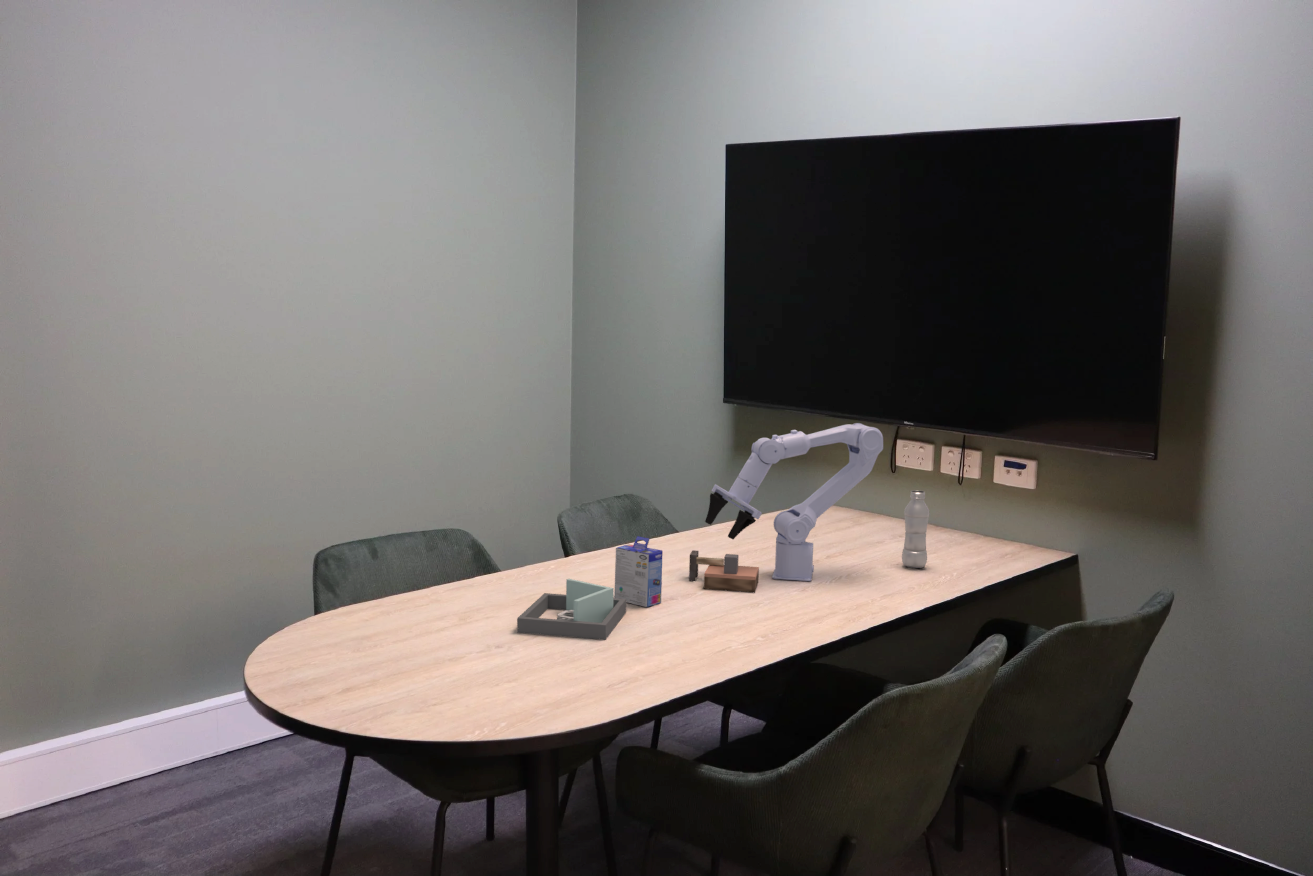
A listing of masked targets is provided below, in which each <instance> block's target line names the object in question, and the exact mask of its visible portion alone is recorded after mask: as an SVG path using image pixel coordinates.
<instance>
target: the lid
mask: <svg viewBox="0 0 1313 876" xmlns="http://www.w3.org/2000/svg"><path fill="white" fill-rule="evenodd" d="M723 559H724V565H723V566H718V565H707V568H706V570H705V572H704V573H703V575H704V577H717V578H731V579H746V580H756V577H757V574H758V571H759V572H760V567H759V566H749V565H748V566H745V565H739V554H736V553H735V554H732V553H731V554H730V553H726V554H725V555H724V557H723ZM704 577H703V578H704Z"/></svg>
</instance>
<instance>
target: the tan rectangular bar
mask: <svg viewBox="0 0 1313 876" xmlns="http://www.w3.org/2000/svg"><path fill="white" fill-rule="evenodd" d="M696 564H698V565H705V566H706V565H707V566H709V565H718V566H723V565H724V558H723V557H722V558H719V557H706V556H705V557H704V556H703V557H702V556H698V557H696Z"/></svg>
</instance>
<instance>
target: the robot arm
mask: <svg viewBox="0 0 1313 876" xmlns="http://www.w3.org/2000/svg"><path fill="white" fill-rule="evenodd" d="M838 443H843V444H846V445H847V446H846V447H847V448H848V453H849V454H848V455H849V456H848V457H849V459H848V463H847V464H846V465H845V466H843V467H842V468H841V469H840V470H839V471H838V472H836V473H835V474H834V475H833V476H832V477H830V478H829V479H828V480H827V481H826V482H825V483H824V484H822V485H821V486H820V487H819V488H817V490H815V491H814V492H813V493H812V494H811V495H810V496H809V497H807V498H806V499H805V500H803V502H801V503H799V504H798V503H797V504H795V505H793V506H791V507H790V508H789V509H787V510H783V511H781V512H779V513H778V514H777V515H776V516H775V518H774V520H773V528H774V531H775V532H776V533H777V535H776V537H775V559H774V560H775V563H774V570H773V573H772V577H771V578H772V579H775V580H785V581H786V580H787V581H804V582H812V578H813V573H814V571H815V566H814V565H813V564H814V542H809V541H806V539H807V538H808V537H809V535H810V533H811V531H812V529H814V528H815V527H816V524H817V520H818V518H819V517H821V516H822V515H823V514H824V513H825V512H827V511H828V510H829V509H830V508H831V507H833V506H834V505H835V504H836V503H837V502H838V501H839V500H840V499H842V498H843V497H844V496H845V495H846V494H848V493H849V492H850V491H851V490H852V489H853V488H855V487H856V486H857V485H858V484H859V483H860V482H862V480H863V479H865V478H866V477H867V476H868V475H870V473H871V472H872V471H873V468H874V466H875V463H876V460H877V459H878V456H879V455H880V453H881V452H882V451H883V450H884V436H883V433H882V432H881V431H880V429H879V428H877V427H874V426H868V425H865V424H863V423H860V422H855V423H853V424H847V423H846V424H842V425H839V426H834V427H831V428H828V429H824V430H820V431H815V432H813V433H808V434H806V433H804V432H803V431H801V430H799V431H798V430H796V429H792V430H790V433H786V434H782V435H778V434H772V436H771V438H768V437H761V438H758V439H757V440H756V441H755V442H753V443H752V445H751V454H750V456H749V457H748V459H747V460H746V462H745V463H744V465H743V466H742V468H741V470H740V472H739V474H738V475H737V477H736V479H735V480H734V482H733V484H732V485H731V487H730V489H729V490H726V489H724V488H722V487H721V486H719V485H718V484H717V483H715V484H714V485H713V487H712V489H711V492H710V494H709V506H708V511H707V514H706V518H705V520H704V522H705V523H706V524H708V525H711V526H712V524H713V522H714V521H715V520H716V518H717V517H718V515H719V514H720V512H721V511H722V510H723V508H725V506H726V505H728V503H730V504H732V505H734V506H736V507H737V508H739V511H738V513H737V517H736V519H735V522H734V523H733V525H732V527H731V529H730V530H729V532H728V535H727V538H729V539H732V540H735V538H736V537H737V536H739V535H740V533H742V532H743V530H745V529H747V528H748V527H750V525H752V524H755V522H756V520H759V519H760V518H761V516H762V514H763V513H762V511H760V510H758V509H757V508H755V507H754V506H752V505H751V504H750V503H751V501H752V499H753V498H754V496H755V495H756V493H757V492H758V489H759V487H760V485H761V484H762V482H763V481H764V479H765V478H766V475H767V474H768V472H769V471H770V469H771V467H772V465H773V464H777V463H779V461H781V460H784V459H789V458H793V457H798V456H802V455H806V454H807V453H808V452H809V450H810V449H811V448H816V447H821V446H827V445H834V444H838ZM732 500H733V501H732ZM734 501H735V502H734ZM736 502H737V503H736ZM739 504H740V505H739Z"/></svg>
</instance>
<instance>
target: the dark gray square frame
mask: <svg viewBox="0 0 1313 876" xmlns="http://www.w3.org/2000/svg"><path fill="white" fill-rule="evenodd" d="M548 609H552V610H564V611H565V610H566V594H561V593H560V594H559V593H551V592H550V593H547V592H544V593H543V594H542V595H541V596H539V598H537V599H536V600H535V601H534V602H533V603H531V604H530V606H529V607H528V608H526V609H525V610H524V611H523V612H522V613H521V614H520V615H519V616H518V617H517V618H516V621H517V622H516V624H517V625H516V632H517V633H518V634H532V635H544V636H554V637H555V636H556V637H565V638H568V637H569V638H579V639H590V640H591V639H592V640H604V641H606V640H607V639H608V637H609V636H610V635H611V633H612V632H613V631H614V629H615V628H616V626H617V625H618V624H619V623H620V621H621V620H622V618H623V617H624V616H625V615H626V614H627V602H626V599H618V598H614V597H613V609H612V610H611V612H610V613H609V614H608V615H607V617H606V618H605V619H604V620H603V622H602V623H596V622H583V621H571V620H558V619H557V618H554V619H553V618H546V617H545V618H544V617H543V618H542V617H541V616H542V615H543V614H544V613H545V612H546V611H547V610H548Z"/></svg>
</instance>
